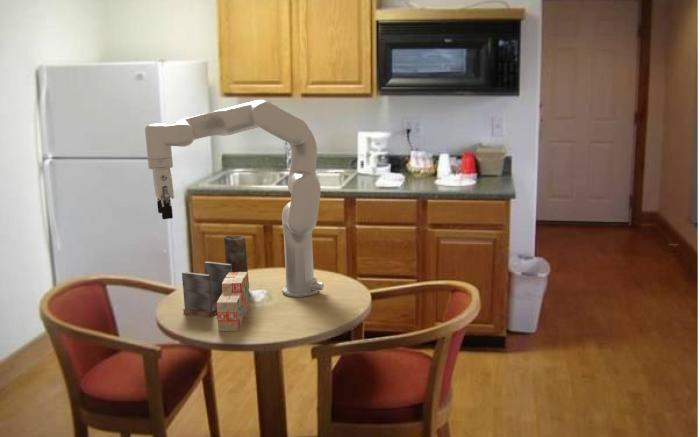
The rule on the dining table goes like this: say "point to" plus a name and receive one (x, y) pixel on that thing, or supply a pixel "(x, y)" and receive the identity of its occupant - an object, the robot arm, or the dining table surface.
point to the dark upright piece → (236, 253)
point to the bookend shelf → (204, 289)
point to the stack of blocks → (233, 301)
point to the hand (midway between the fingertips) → (165, 215)
